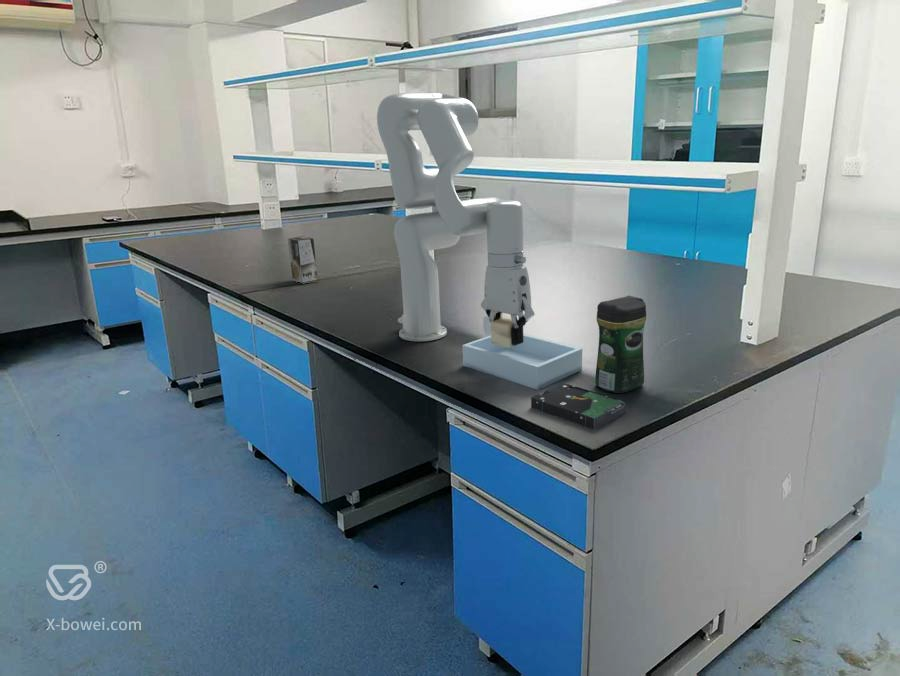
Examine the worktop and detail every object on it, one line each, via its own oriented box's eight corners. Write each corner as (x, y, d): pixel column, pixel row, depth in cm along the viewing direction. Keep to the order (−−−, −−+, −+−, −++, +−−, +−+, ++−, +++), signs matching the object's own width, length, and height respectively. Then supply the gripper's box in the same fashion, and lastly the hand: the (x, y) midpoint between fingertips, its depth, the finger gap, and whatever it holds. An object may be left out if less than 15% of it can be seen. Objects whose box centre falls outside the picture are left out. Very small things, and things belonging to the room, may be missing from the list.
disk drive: (529, 411, 126) (595, 432, 116) (529, 397, 125) (595, 418, 115) (562, 394, 133) (626, 413, 123) (562, 381, 132) (627, 400, 122)
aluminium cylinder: (479, 345, 163) (478, 318, 161) (493, 340, 166) (492, 313, 164) (494, 349, 160) (493, 321, 158) (508, 344, 163) (507, 317, 161)
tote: (463, 365, 150) (462, 345, 148) (507, 349, 159) (507, 329, 158) (537, 390, 134) (537, 367, 133) (581, 370, 144) (582, 348, 142)
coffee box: (318, 282, 240) (314, 238, 235) (302, 285, 237) (297, 240, 232) (308, 278, 247) (303, 235, 242) (292, 281, 244) (287, 237, 239)
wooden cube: (506, 338, 148) (506, 316, 146) (523, 342, 144) (523, 320, 143) (491, 343, 144) (490, 321, 143) (508, 347, 141) (507, 325, 139)
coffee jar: (621, 375, 140) (625, 290, 134) (650, 386, 133) (655, 298, 128) (587, 385, 135) (589, 298, 130) (615, 397, 129) (619, 306, 123)
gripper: (548, 261, 135) (548, 344, 141) (488, 253, 147) (491, 330, 153) (524, 267, 130) (525, 353, 136) (464, 258, 142) (468, 338, 148)
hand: (507, 340), depth 144 cm, fingers closed on wooden cube, 4 cm apart
